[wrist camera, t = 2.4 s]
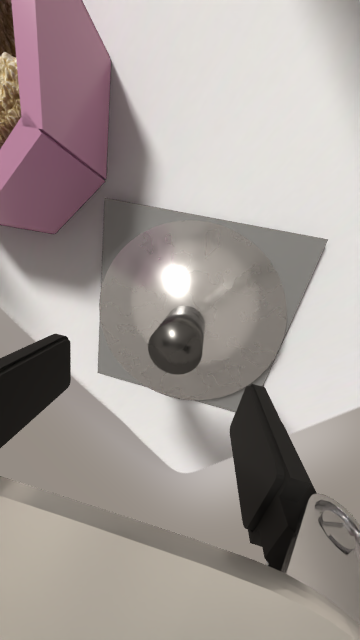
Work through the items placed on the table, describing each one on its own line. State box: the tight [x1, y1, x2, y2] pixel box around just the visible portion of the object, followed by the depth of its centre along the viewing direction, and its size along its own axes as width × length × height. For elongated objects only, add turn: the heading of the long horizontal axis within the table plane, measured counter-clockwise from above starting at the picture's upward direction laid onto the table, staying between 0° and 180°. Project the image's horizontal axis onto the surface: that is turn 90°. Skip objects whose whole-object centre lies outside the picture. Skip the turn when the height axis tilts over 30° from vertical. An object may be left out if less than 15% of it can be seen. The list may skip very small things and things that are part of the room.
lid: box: [99, 220, 287, 400], centre depth 14 cm, size 17×17×6 cm
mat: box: [98, 198, 328, 412], centre depth 17 cm, size 18×18×1 cm
